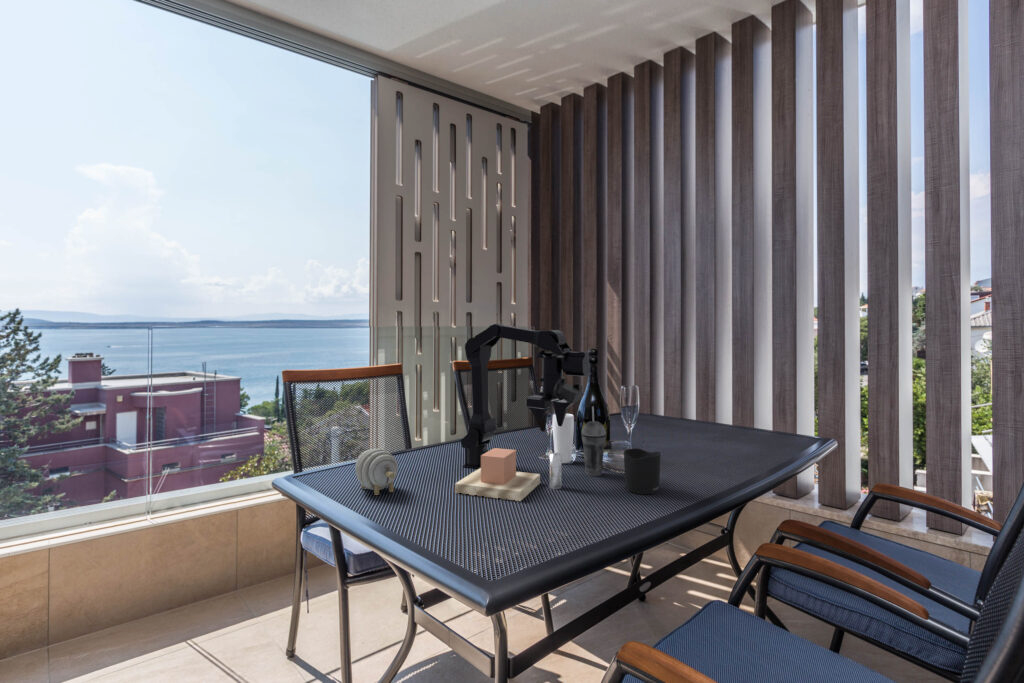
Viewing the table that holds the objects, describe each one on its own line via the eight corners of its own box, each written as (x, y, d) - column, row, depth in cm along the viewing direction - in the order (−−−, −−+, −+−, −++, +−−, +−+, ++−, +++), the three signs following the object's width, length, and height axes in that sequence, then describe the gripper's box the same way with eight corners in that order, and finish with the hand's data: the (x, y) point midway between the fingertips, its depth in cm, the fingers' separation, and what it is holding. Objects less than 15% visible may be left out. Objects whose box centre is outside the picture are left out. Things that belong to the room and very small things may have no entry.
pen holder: (631, 496, 133) (631, 457, 133) (618, 485, 143) (618, 449, 142) (666, 494, 135) (666, 456, 135) (651, 483, 144) (651, 447, 144)
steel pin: (548, 488, 140) (548, 454, 140) (551, 484, 143) (551, 452, 143) (559, 489, 139) (559, 455, 139) (562, 486, 142) (562, 453, 142)
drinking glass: (573, 459, 170) (573, 413, 170) (573, 464, 163) (574, 417, 163) (552, 458, 171) (552, 413, 170) (552, 464, 164) (552, 416, 164)
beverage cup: (609, 472, 155) (609, 405, 155) (602, 478, 149) (602, 408, 148) (585, 469, 158) (585, 403, 158) (577, 475, 152) (578, 406, 151)
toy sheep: (377, 480, 147) (377, 441, 147) (413, 493, 136) (413, 451, 135) (343, 488, 140) (342, 447, 139) (377, 503, 128) (377, 458, 128)
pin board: (455, 493, 136) (455, 483, 136) (480, 476, 151) (480, 467, 151) (520, 501, 130) (520, 491, 130) (540, 483, 145) (540, 474, 145)
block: (480, 482, 137) (480, 455, 137) (494, 472, 146) (494, 447, 145) (503, 484, 135) (503, 457, 135) (516, 475, 143) (516, 449, 143)
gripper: (560, 379, 137) (559, 438, 137) (593, 373, 152) (592, 427, 152) (525, 376, 143) (524, 432, 144) (560, 371, 158) (559, 422, 159)
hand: (551, 428), depth 150 cm, fingers open, 9 cm apart
